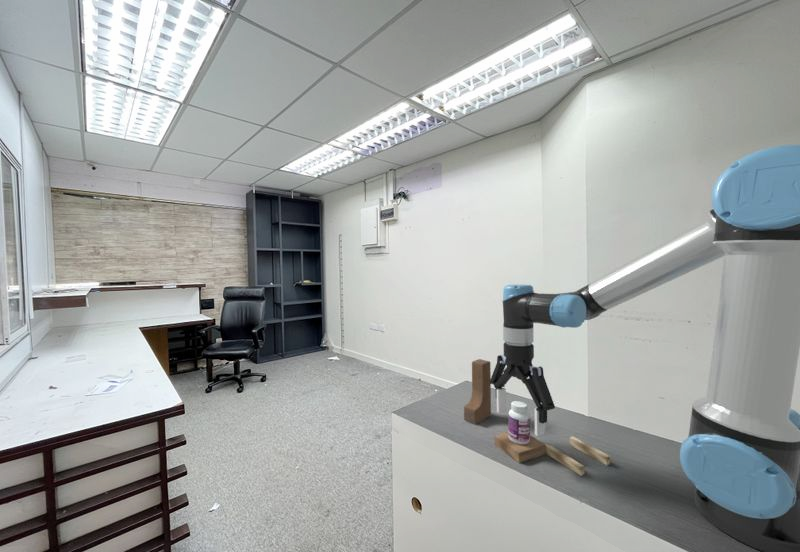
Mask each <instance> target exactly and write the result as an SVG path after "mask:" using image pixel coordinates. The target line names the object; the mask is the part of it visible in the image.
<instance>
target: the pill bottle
mask: <svg viewBox="0 0 800 552" xmlns="http://www.w3.org/2000/svg"><path fill="white" fill-rule="evenodd" d="M508 432H509V439H510V440H511V441H512V442H514V443H516V444H520V445H524V444H528V443H529V442H530V435H531V415H530V413H529V411H528V404H527V403H526V402H524V401H519V400H514V401H511V403H510V410H509V411H508Z"/></svg>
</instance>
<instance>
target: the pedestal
mask: <svg viewBox="0 0 800 552" xmlns="http://www.w3.org/2000/svg"><path fill="white" fill-rule="evenodd" d="M493 440H494V445H495V446H496V447H497V448H498V449H499V450H502V452H504V453H505V454H506V455H508V456H509V457H510V458H512V459H513V460H515V461H516V462H517V463H519V464H520V463H523V462H526V461H529V460H532V459H535V458H538V457H541V456H544V455H547V454H546V445H547V444H546V443H544V442H542V441H541V440H539V439H537V438H536V437H534V436H533V435H531V434H530V442H529V443H528V444H524V445H520V444H516V443H514V442H512V441H511V440H510V439H509V431H506V432H505V431H504V432H502V433H499V434H498V433H497V434H496V435H494V438H493Z"/></svg>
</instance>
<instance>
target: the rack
mask: <svg viewBox="0 0 800 552" xmlns="http://www.w3.org/2000/svg"><path fill="white" fill-rule="evenodd" d="M569 445H570V446H572V447H573V448H575V449H576V450H579V451H580V452H582V453H584V454H586V455H587V456H589V457H591V458H592V459H595V460H596V461H598V462H600V463H601V464H603V465H605V466H610V465H611V457H610V455H609V454H607V453H605V452H603V451H601V450H599V449H597V448H596V447H594V446H592V445H590V444H588V443H586V442H585V441H582V440H580V439H579V438H577V437H575V436H569ZM545 455H548V456H549V457H551V458H552V459H553V460H555V461H557V462H558V463H560V464H562V465H563V466H565V467H567V468H568V469H569V470H570V471H572V472H574V473H576V474H577V475H578V476H584V475H585V465H584V464H582V463H580V462H579V461H577V460H575V459H574V458H572V457H571V456H569V455H567V454H565V452H562V451H560V450H559V449H557V448H556V447H554V446H552V445H550V444H549V443H548V444H546V454H545Z"/></svg>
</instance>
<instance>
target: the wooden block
mask: <svg viewBox="0 0 800 552" xmlns="http://www.w3.org/2000/svg"><path fill="white" fill-rule="evenodd" d="M491 371H492V370H491V361H488V360H484V359H481V358H480V359H479V358H478V359H476V360H474V361H471V397H470V400H469V401H468V402H467V404H465V405H464V406H463V419H464V421H466V422H469V423H471V424H472V425H473V424H474V425H477V424H478V423H480V422H482V421H483V420H486V419H487V418H489V417H491V415H492V396H491V395H492V394H491V393H492V390H491V389H492V388H491V386H492V384H491V383H490V380H491V377H492V375H491V373H492V372H491Z"/></svg>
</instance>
